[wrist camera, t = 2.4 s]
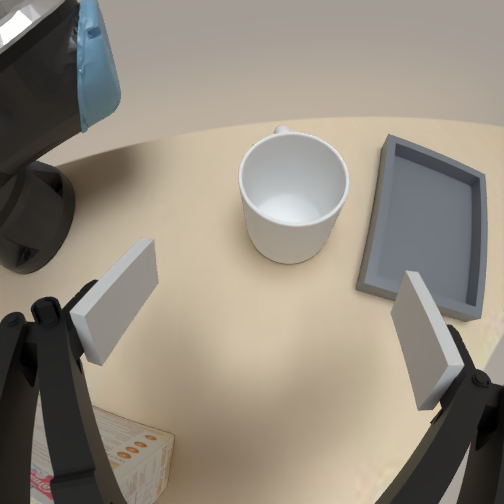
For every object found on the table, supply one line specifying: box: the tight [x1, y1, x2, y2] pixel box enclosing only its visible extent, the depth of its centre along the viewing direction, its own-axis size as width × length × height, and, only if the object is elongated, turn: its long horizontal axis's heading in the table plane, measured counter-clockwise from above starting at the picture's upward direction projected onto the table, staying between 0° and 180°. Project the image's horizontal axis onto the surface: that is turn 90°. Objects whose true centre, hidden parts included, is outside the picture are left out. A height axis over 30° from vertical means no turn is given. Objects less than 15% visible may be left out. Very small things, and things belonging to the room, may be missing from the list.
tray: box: [356, 134, 488, 322], centre depth 29 cm, size 14×18×3 cm
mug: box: [238, 125, 350, 264], centre depth 28 cm, size 12×8×10 cm
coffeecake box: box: [30, 394, 175, 504], centre depth 17 cm, size 15×7×20 cm, turn 80°
